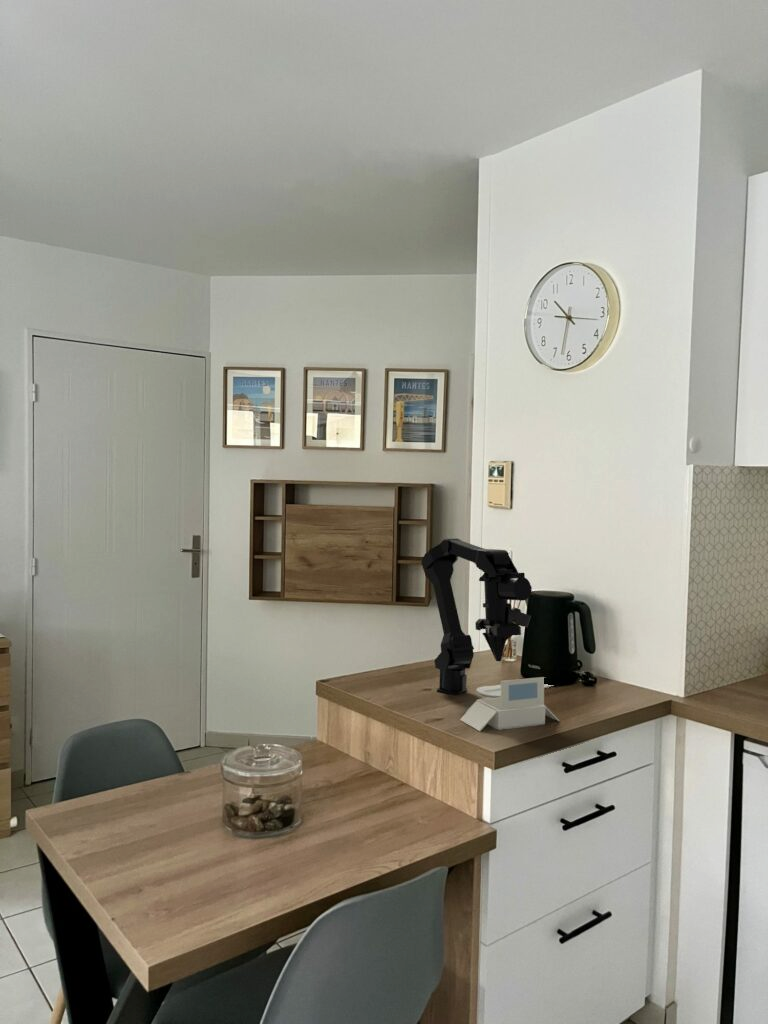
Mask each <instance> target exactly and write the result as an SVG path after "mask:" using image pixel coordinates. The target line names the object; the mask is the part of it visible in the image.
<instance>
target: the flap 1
mask: <svg viewBox="0 0 768 1024" xmlns="http://www.w3.org/2000/svg"><path fill="white" fill-rule="evenodd" d="M473 704H474V705H473ZM473 704H472V705H473V706H472V705H471V706H472V707H471V706H470V707H471V708H470V707H469V708H470V709H469V708H468V709H469V710H468V709H467V710H468V711H467V710H466V712H465V713H464V715H463V716H461V718H460V722H462V723H464V724H466V725H468V726H469V727H472V728H473V729H474V730H477V731H478V732H481V731H482V730H483V729H484V728H485V727H486V726H487V725H488V724H487V723H488V722H489V721H490V720H491V719H492V717H493V716H494V715H495V714H496V713H497V711H495V710H493V709H491V708H489V707H487V706H485V705H483V704H482V703H480V702H478V701H477V700H476V701H475V702H474V703H473Z"/></svg>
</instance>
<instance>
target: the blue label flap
mask: <svg viewBox="0 0 768 1024" xmlns="http://www.w3.org/2000/svg"><path fill="white" fill-rule="evenodd" d="M544 678H545V677H544V676H540V677H529V678H527V677H526V678H519V679H517V678H515V679H509V680H508V679H506V680H505V679H504V680H500V685H501V709H509V708H518V707H527V706H536V705H545V689H544Z"/></svg>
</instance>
